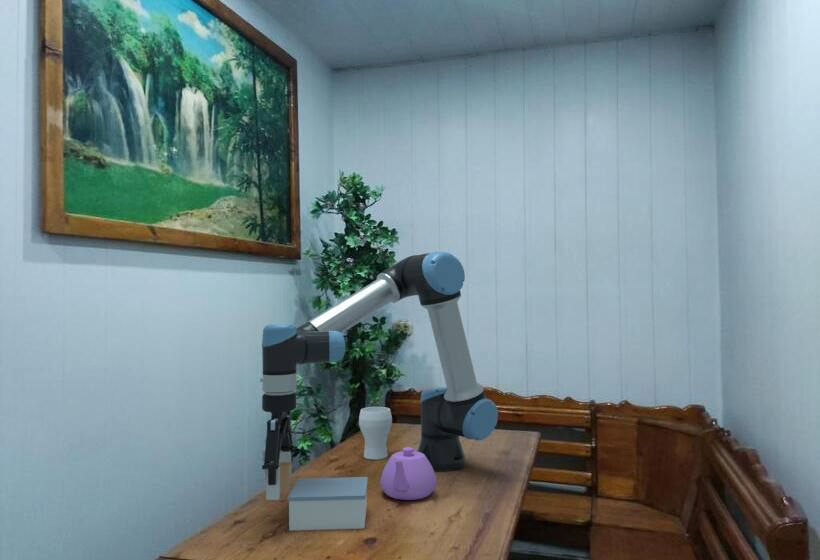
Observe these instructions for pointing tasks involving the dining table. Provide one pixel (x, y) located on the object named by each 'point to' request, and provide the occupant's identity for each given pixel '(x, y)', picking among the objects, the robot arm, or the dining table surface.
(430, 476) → the teapot
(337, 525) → the tub
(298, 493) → the lid
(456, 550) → the dining table surface
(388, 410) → the cup
